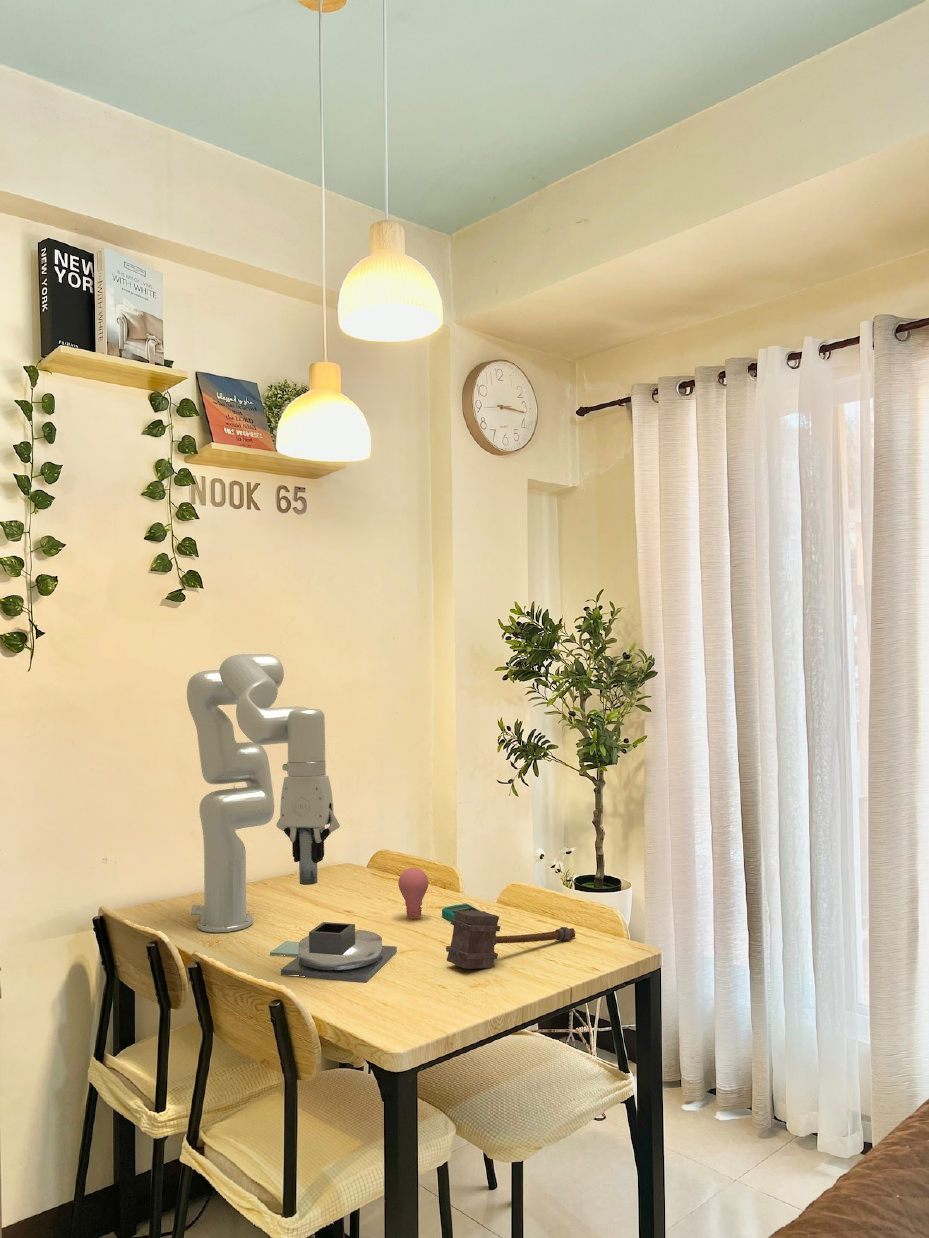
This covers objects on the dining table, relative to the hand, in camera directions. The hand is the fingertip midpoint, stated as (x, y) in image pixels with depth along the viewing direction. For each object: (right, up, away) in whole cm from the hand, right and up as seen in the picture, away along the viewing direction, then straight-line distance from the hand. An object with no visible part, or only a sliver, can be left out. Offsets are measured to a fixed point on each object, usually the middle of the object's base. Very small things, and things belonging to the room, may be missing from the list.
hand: (308, 860), depth 185 cm
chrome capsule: (0, -4, 0) cm, 4 cm away
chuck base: (+6, -22, +3) cm, 23 cm away
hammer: (+43, -22, +7) cm, 48 cm away
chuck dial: (+6, -20, +3) cm, 21 cm away
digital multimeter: (+33, -23, +30) cm, 50 cm away
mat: (-5, -22, +11) cm, 25 cm away
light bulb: (+20, -23, +33) cm, 45 cm away
